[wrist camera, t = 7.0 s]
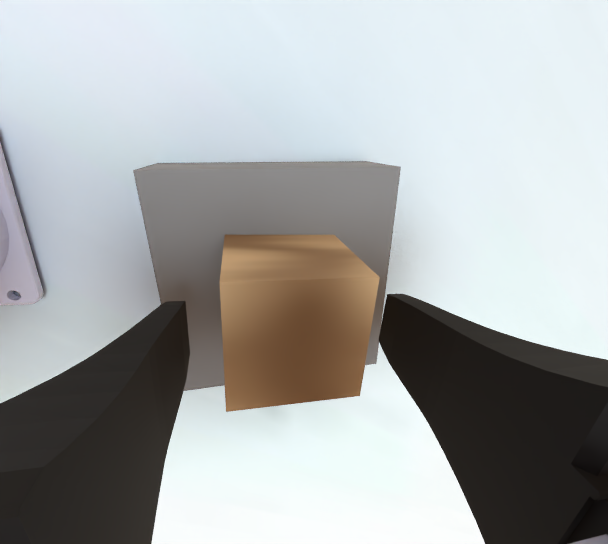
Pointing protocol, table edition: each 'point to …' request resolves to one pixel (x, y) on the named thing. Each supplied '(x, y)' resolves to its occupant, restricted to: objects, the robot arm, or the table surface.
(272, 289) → the oak cube
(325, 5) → the table surface
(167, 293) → the gray block
